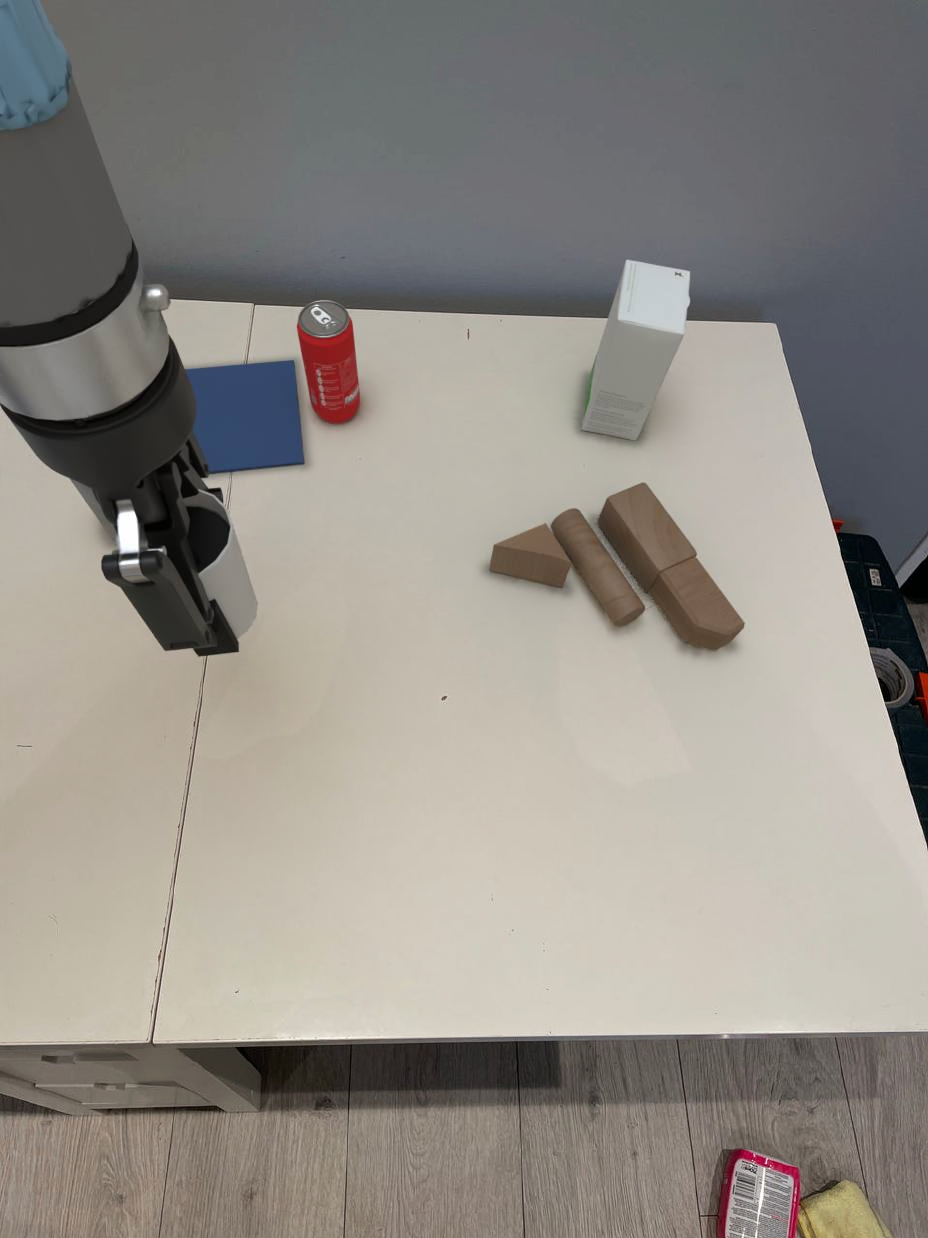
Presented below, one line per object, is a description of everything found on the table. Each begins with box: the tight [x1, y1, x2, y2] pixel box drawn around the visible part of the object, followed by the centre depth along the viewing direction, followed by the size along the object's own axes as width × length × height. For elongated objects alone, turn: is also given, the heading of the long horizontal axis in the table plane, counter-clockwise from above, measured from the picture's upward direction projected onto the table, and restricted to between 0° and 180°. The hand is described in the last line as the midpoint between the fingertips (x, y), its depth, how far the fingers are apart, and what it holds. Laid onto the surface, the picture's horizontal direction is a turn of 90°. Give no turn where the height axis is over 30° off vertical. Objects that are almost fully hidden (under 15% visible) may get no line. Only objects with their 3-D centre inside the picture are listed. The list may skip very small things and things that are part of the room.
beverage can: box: [296, 299, 361, 425], centre depth 74 cm, size 5×5×12 cm
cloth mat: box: [184, 359, 305, 475], centre depth 77 cm, size 16×14×1 cm
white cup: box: [114, 489, 259, 640], centre depth 47 cm, size 7×7×10 cm
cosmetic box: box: [580, 259, 691, 441], centre depth 74 cm, size 8×7×16 cm
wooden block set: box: [488, 482, 746, 651], centre depth 68 cm, size 17×6×18 cm
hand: (218, 607), depth 52 cm, fingers closed on white cup, 6 cm apart
